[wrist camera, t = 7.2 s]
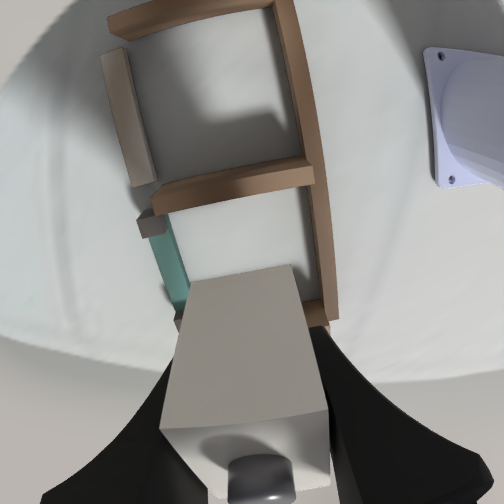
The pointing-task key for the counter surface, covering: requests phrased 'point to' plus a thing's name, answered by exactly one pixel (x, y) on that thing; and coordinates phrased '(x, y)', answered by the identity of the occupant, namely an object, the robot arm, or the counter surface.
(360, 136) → the counter surface
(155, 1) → the slot rack
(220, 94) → the counter surface
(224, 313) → the plug
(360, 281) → the counter surface
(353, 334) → the counter surface
